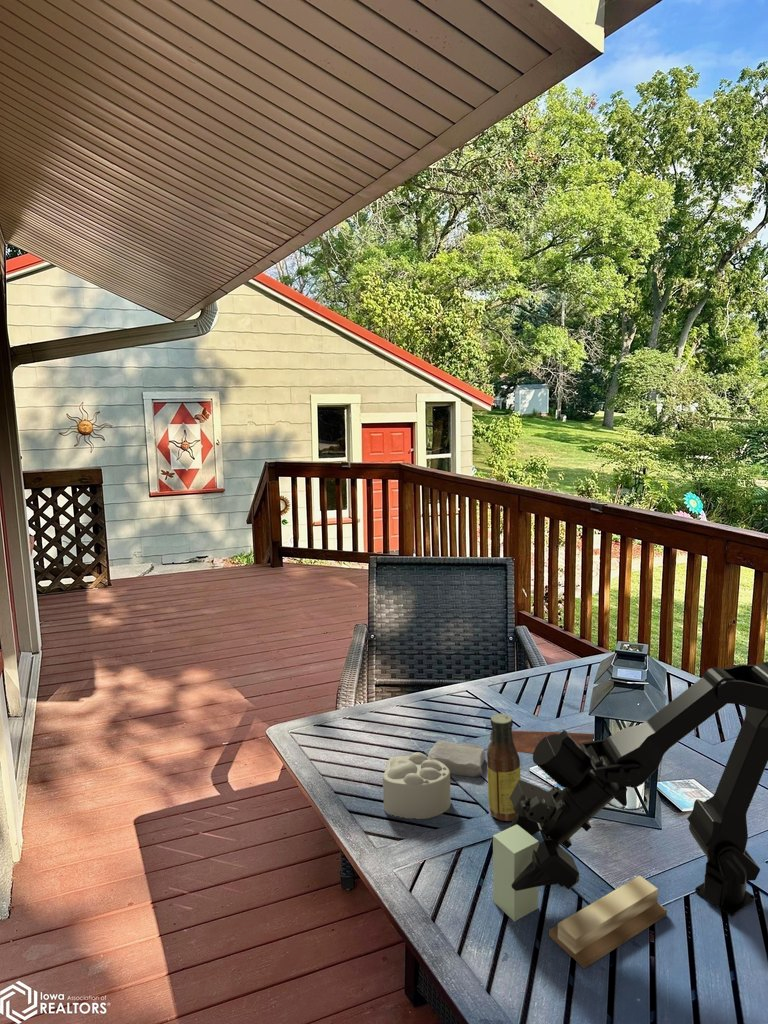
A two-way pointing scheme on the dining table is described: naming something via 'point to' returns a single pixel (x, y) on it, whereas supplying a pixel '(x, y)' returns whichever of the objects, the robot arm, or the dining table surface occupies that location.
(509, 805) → the sauce bottle
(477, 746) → the stone block
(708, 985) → the dining table surface
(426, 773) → the lumpy-topped squat cylinder
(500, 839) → the sage post
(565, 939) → the birch ridge
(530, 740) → the wooden tablet
